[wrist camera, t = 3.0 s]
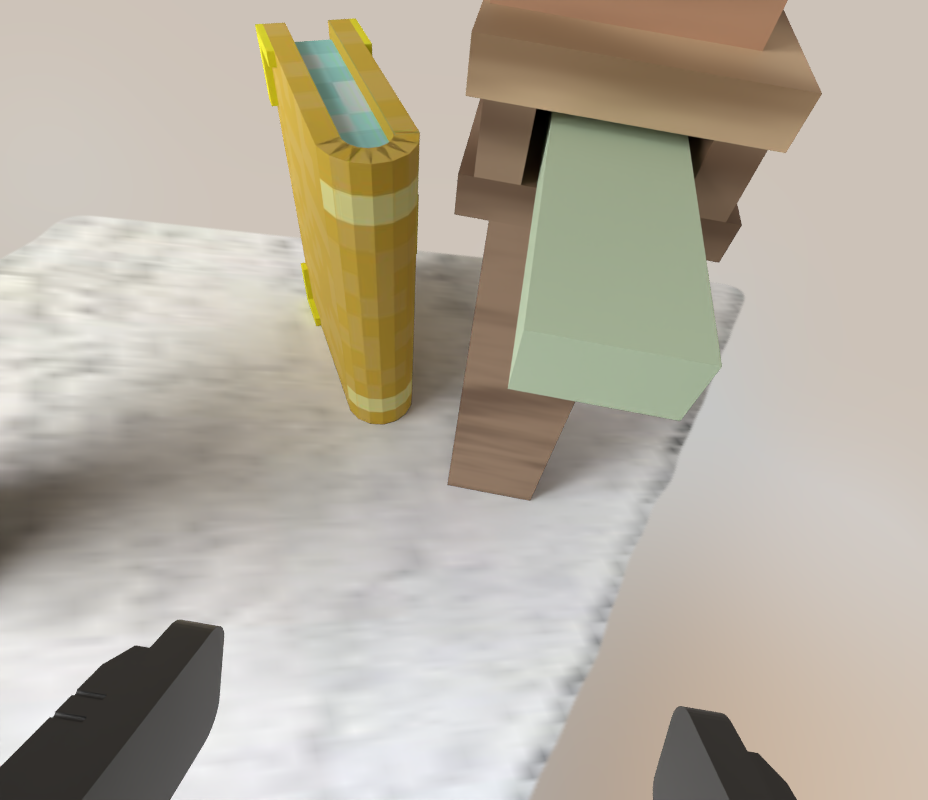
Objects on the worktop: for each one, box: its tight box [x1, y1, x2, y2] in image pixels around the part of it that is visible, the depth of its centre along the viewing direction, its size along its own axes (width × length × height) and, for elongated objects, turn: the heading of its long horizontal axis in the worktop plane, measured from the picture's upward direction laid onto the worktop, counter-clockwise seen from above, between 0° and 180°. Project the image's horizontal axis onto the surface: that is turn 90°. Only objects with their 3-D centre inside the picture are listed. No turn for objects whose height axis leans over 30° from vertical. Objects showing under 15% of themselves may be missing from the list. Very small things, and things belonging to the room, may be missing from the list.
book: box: [255, 19, 420, 424], centre depth 43 cm, size 17×7×25 cm, turn 22°
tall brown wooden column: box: [447, 0, 822, 500], centre depth 30 cm, size 12×9×39 cm
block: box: [508, 111, 722, 421], centre depth 17 cm, size 18×4×2 cm, turn 171°
